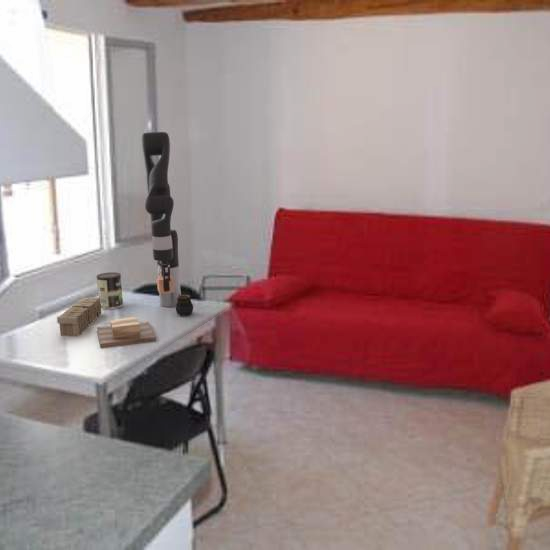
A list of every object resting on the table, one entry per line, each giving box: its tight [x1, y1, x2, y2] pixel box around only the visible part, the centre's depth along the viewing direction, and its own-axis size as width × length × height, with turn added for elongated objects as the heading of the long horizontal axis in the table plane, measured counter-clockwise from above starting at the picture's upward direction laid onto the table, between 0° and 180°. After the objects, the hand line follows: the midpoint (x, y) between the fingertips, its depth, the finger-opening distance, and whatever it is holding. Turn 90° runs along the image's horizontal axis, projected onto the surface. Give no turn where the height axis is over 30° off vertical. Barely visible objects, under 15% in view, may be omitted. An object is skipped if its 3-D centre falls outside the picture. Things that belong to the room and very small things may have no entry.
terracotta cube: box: [156, 275, 174, 295], centre depth 257 cm, size 6×6×6 cm
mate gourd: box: [175, 294, 194, 317], centre depth 273 cm, size 7×8×10 cm
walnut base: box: [96, 316, 157, 349], centre depth 250 cm, size 20×20×6 cm
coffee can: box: [96, 271, 124, 310], centre depth 289 cm, size 10×10×14 cm
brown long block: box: [56, 296, 102, 336], centre depth 264 cm, size 8×8×29 cm
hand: (165, 289), depth 257 cm, fingers closed on terracotta cube, 5 cm apart
